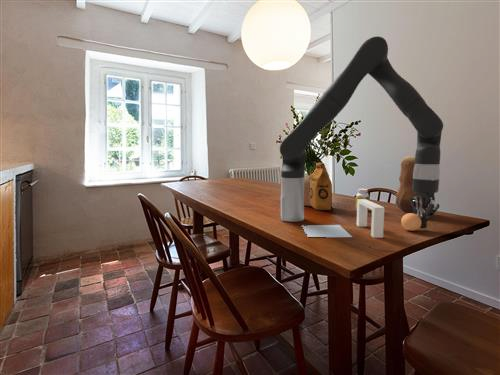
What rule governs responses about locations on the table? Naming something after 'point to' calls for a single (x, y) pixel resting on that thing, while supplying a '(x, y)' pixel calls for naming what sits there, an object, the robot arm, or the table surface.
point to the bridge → (377, 217)
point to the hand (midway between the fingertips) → (421, 227)
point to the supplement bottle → (362, 195)
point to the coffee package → (320, 188)
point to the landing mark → (325, 231)
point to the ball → (411, 221)
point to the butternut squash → (406, 185)
